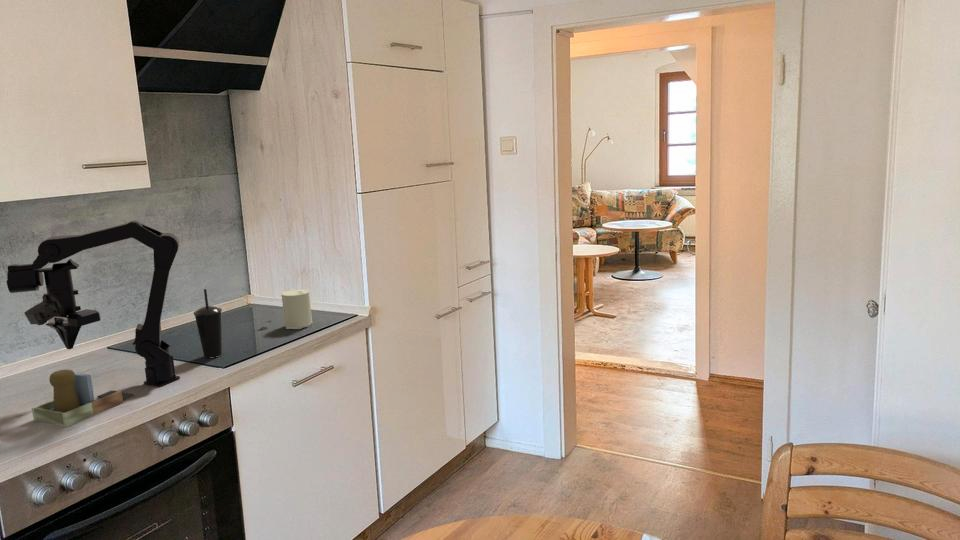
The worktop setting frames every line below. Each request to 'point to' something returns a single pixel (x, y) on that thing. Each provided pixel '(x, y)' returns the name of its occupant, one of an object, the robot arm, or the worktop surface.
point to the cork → (64, 391)
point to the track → (75, 410)
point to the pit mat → (124, 395)
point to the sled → (83, 388)
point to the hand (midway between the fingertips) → (69, 348)
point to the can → (296, 308)
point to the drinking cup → (209, 329)
